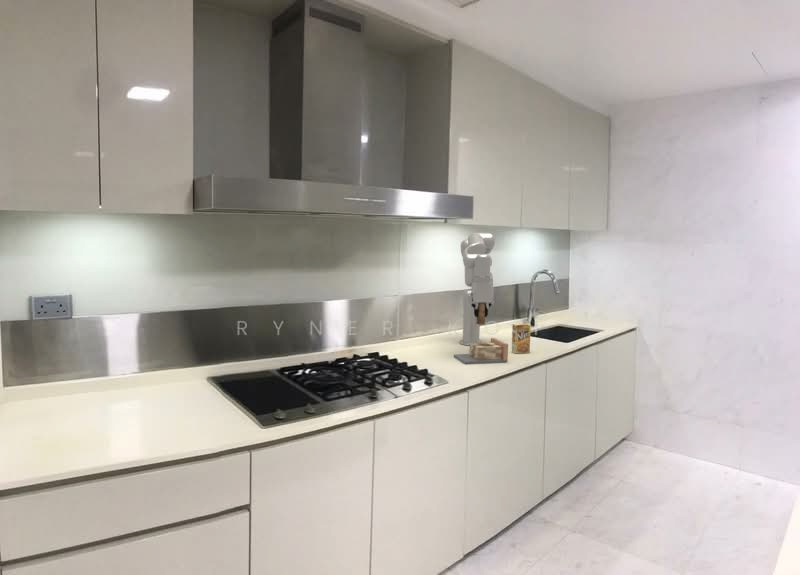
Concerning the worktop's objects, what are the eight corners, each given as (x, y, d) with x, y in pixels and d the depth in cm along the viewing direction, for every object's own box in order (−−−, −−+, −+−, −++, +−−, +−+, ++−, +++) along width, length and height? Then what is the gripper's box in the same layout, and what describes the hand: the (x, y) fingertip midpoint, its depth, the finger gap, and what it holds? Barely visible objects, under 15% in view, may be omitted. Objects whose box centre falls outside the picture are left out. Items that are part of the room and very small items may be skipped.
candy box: (515, 353, 265) (516, 325, 264) (511, 352, 269) (512, 323, 268) (529, 353, 268) (531, 324, 266) (525, 351, 272) (526, 323, 270)
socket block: (469, 354, 255) (469, 343, 255) (491, 353, 258) (491, 342, 257) (478, 360, 244) (478, 347, 243) (501, 359, 246) (501, 347, 246)
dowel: (475, 323, 252) (476, 299, 251) (482, 323, 253) (483, 299, 252) (478, 324, 248) (479, 300, 247) (485, 324, 249) (486, 300, 248)
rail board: (453, 356, 255) (454, 338, 255) (493, 355, 261) (494, 337, 260) (464, 364, 240) (465, 345, 239) (507, 362, 245) (508, 343, 244)
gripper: (495, 279, 254) (493, 315, 255) (463, 279, 250) (462, 315, 252) (501, 280, 246) (499, 317, 248) (468, 280, 243) (467, 318, 244)
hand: (480, 316), depth 250 cm, fingers closed on dowel, 4 cm apart
